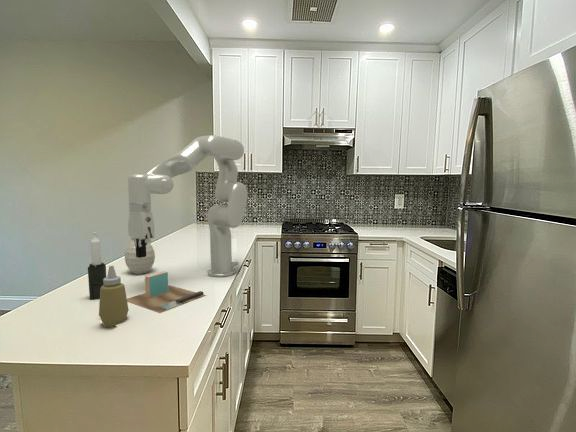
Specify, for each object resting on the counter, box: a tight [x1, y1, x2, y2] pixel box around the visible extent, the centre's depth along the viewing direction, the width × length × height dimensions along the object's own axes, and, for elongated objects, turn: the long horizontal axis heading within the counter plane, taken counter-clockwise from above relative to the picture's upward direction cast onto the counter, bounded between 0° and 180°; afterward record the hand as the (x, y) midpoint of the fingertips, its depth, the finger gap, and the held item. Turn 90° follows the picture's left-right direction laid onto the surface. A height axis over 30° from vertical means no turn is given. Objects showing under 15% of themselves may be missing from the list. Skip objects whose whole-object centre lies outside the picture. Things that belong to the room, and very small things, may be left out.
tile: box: [144, 270, 169, 299], centre depth 127 cm, size 8×2×8 cm, turn 146°
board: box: [127, 284, 207, 314], centre depth 125 cm, size 20×21×1 cm
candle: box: [87, 231, 107, 301], centre depth 124 cm, size 5×5×25 cm
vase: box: [124, 240, 156, 275], centre depth 161 cm, size 13×13×17 cm
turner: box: [159, 290, 204, 311], centre depth 122 cm, size 17×4×1 cm, turn 146°
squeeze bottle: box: [98, 265, 130, 328], centre depth 105 cm, size 8×8×18 cm
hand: (141, 256), depth 130 cm, fingers closed
